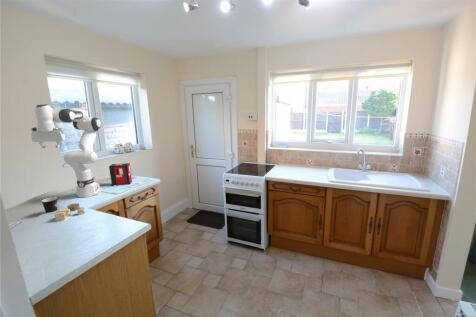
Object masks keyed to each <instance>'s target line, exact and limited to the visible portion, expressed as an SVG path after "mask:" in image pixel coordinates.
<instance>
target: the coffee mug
mask: <svg viewBox="0 0 476 317" xmlns="http://www.w3.org/2000/svg"><path fill="white" fill-rule="evenodd" d="M41 204H42V206H43V209H44V211H45V213H50V214H51V213H53V212H54V213H55V212H57V211H58V197H56V196H55V197H48V198H44V199H42V200H41Z"/></svg>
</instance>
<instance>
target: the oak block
mask: <svg viewBox="0 0 476 317" xmlns="http://www.w3.org/2000/svg"><path fill="white" fill-rule="evenodd" d="M71 212H72V211H70V209H68V208H67V209H66V208H65V209H64V208H63V209H59V210H57V211H55V212H54V213H53V214H54V218H55V220H63V221H67V220H68V219H69V217H70V216H71V215H72V213H71ZM71 217H72V216H71ZM71 217H70V218H71ZM67 218H68V219H67ZM66 219H67V220H66Z"/></svg>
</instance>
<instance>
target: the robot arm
mask: <svg viewBox="0 0 476 317" xmlns="http://www.w3.org/2000/svg"><path fill="white" fill-rule="evenodd" d="M34 112H35V117H36V120H37V126H34V127H32V128H31V127H30V131H31V133H30V136H31V141H32V142H34V143H38V144H39V145H40V146H41V148H42V149H46V148H47V146H46V145H45V144H44V143H47V142H51V143H52V142H56V145H55V149H56V148H57V149H59V148H61V144H62V143H61V142H64V141H66V135H65V131H64V129H63V128H60V127H56V126H55V124H59V123H63V124H64V123H65V124H71V123H72V126H73V128H74V129H76V130H79V131H81V130H83V133H82V135H81V136H80V139H79V140H78V141H79V142H78V144H77V145H78V148H79V149H81V150H80V151H70V152H66V153H64V156H63V161H64V163H66V164H67V165H69V166H70V167H71V169H73V171H74V173H75V177H76V185H77V186H76V193H75V195H76V196H77V197H78V198H88V197H89V198H90V197H92V196H95V195H96V196H97V195H99V194H100V193H101V192H102V191H103V190H104V188H103V187H101V186H100V185H101V184H99V183H98V182H96V181H95V180H96V177H93V176H92V175H93V174H92V170H91V168H90V167H88V166H86V165H91V164H94V163H95V164H96V162H97V161H98V159H99V155H98V154H97V153H96V152H95V151H94V146H95V143H96V140H97V131H99V129H100V128H101V126H102V122H101V119H100V118H98V117H95V116H94V117H91V116H90V117H89V112H88V111H87V110H85V109H83V108H78V107H72V108H63V109H62V108H59V109H58V108H57V109H56V108H52V107H51V106H50V104H48V103H46V104H45V103H44V104H37V105H35V108H34Z"/></svg>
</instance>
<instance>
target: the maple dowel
mask: <svg viewBox="0 0 476 317" xmlns="http://www.w3.org/2000/svg"><path fill="white" fill-rule="evenodd" d="M79 207H80V208H78V209H77V210H76V211H77V215H78V216H80V215H84V214H85V212H86V211H85V207H84V206H82V207H81V206H79Z"/></svg>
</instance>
